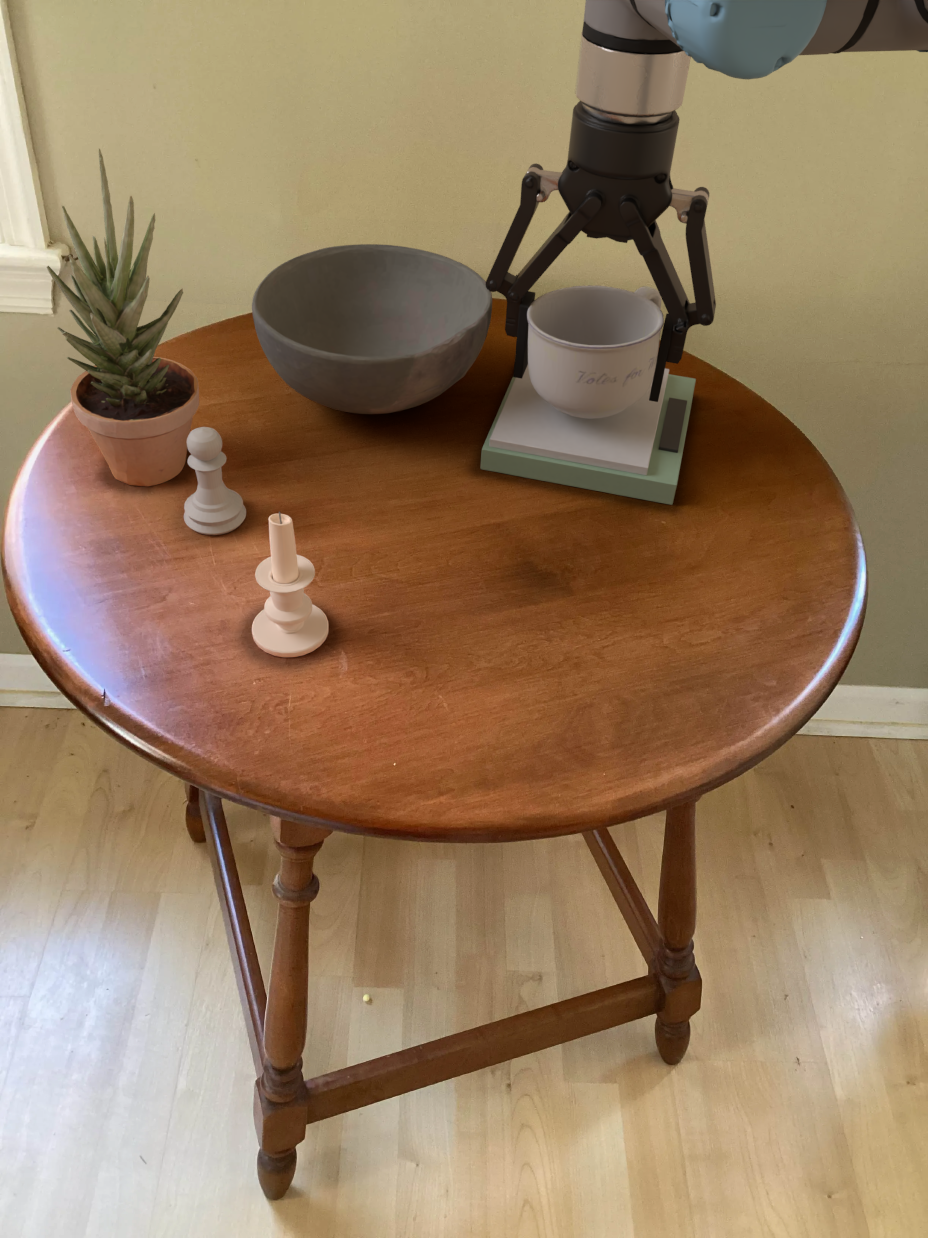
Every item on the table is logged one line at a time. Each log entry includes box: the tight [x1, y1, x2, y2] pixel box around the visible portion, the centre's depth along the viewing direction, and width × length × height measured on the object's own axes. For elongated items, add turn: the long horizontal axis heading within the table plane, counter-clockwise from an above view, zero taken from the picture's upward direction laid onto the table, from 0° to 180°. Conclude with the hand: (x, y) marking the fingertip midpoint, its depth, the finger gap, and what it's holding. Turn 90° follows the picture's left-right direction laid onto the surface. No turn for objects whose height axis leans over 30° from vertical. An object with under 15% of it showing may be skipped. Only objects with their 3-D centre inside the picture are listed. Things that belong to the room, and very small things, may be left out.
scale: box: [480, 365, 697, 506], centre depth 91 cm, size 16×17×3 cm
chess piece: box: [183, 426, 247, 536], centre depth 78 cm, size 5×5×8 cm
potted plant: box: [46, 148, 200, 487], centre depth 77 cm, size 10×10×25 cm
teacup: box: [527, 284, 665, 419], centre depth 86 cm, size 14×11×8 cm
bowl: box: [251, 243, 493, 415], centre depth 91 cm, size 20×20×10 cm
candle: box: [251, 511, 329, 658], centre depth 68 cm, size 5×5×10 cm
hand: (587, 381), depth 88 cm, fingers closed on teacup, 11 cm apart
